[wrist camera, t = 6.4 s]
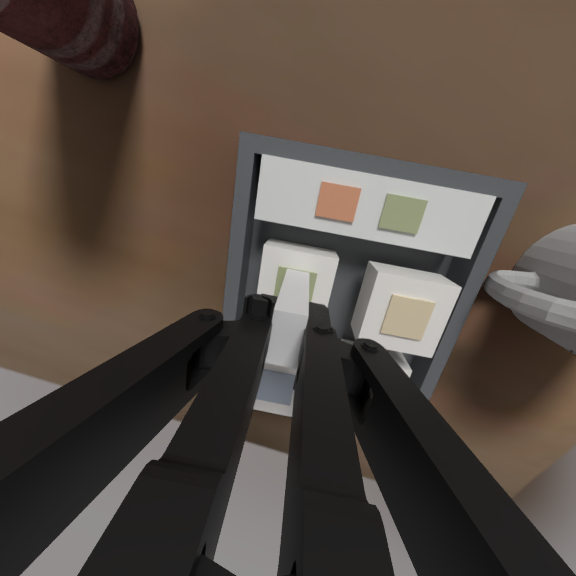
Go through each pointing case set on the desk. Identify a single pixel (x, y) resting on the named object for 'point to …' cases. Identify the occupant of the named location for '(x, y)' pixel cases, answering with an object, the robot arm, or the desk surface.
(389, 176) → the keypad
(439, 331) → the key sand
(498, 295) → the mug
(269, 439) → the desk surface
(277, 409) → the key slate
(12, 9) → the can
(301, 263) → the key olive
